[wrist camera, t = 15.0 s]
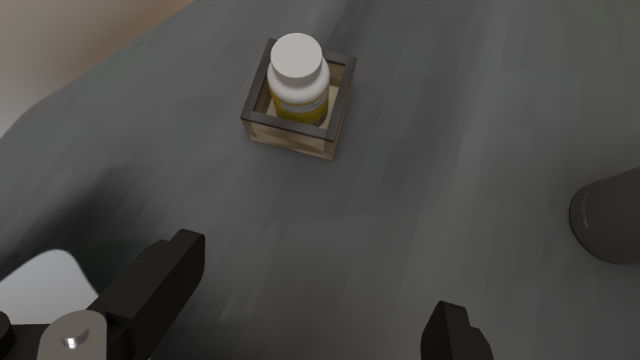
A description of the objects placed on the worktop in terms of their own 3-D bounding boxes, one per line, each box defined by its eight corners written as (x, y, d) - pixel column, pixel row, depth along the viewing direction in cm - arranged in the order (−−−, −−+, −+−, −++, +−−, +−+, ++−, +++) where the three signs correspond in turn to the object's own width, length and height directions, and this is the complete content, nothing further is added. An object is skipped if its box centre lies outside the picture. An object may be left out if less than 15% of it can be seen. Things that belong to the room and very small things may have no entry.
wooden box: (351, 87, 44) (356, 58, 38) (332, 160, 41) (334, 140, 35) (275, 69, 44) (268, 37, 39) (251, 140, 42) (240, 117, 36)
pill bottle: (282, 84, 43) (270, 19, 32) (332, 93, 42) (336, 31, 32) (271, 129, 41) (254, 77, 30) (322, 139, 41) (323, 90, 30)
